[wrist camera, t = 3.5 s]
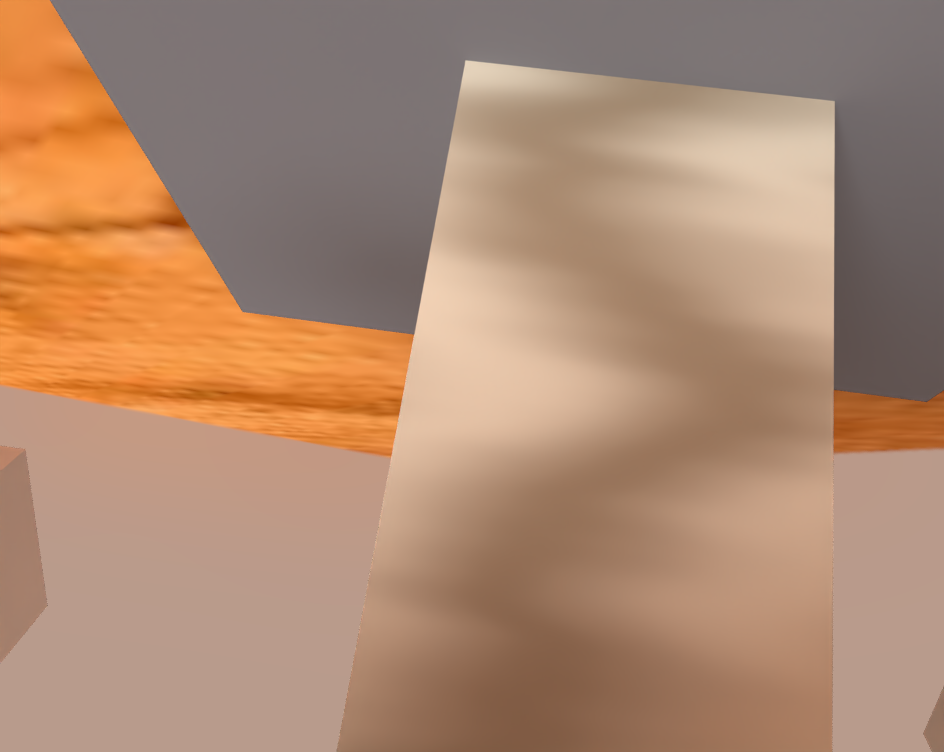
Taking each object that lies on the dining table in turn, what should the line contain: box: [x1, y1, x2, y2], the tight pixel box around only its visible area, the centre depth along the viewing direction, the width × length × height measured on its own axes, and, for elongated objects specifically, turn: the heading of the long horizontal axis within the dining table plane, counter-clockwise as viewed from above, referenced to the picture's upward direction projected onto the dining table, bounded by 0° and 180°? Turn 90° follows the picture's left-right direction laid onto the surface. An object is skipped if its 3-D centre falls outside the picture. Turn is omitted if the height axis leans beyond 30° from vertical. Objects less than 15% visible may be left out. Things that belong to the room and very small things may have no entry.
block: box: [337, 60, 835, 752], centre depth 16 cm, size 6×8×12 cm
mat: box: [50, 0, 944, 402], centre depth 18 cm, size 20×17×1 cm
